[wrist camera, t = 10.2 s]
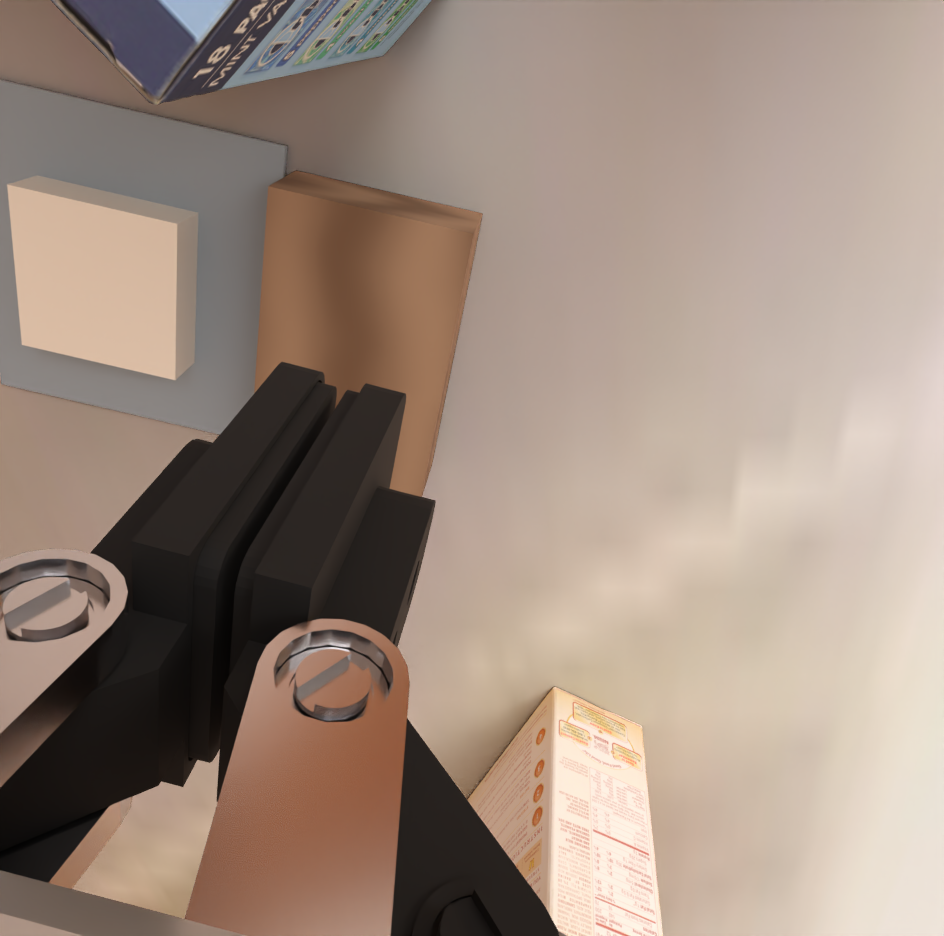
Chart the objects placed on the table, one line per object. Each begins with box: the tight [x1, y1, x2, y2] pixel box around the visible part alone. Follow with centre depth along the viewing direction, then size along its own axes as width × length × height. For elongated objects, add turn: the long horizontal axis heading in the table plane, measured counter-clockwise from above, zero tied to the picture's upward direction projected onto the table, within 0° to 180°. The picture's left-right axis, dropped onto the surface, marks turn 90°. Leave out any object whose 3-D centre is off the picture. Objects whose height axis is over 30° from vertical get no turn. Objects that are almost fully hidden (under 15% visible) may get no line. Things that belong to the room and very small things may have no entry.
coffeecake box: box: [467, 687, 663, 936], centre depth 48 cm, size 15×7×20 cm, turn 154°
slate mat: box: [0, 79, 287, 435], centre depth 41 cm, size 15×16×1 cm
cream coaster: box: [7, 175, 198, 380], centre depth 40 cm, size 8×8×2 cm
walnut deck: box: [254, 170, 483, 497], centre depth 40 cm, size 9×14×4 cm, turn 168°
